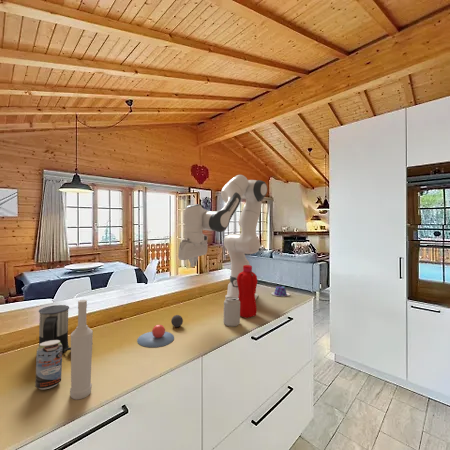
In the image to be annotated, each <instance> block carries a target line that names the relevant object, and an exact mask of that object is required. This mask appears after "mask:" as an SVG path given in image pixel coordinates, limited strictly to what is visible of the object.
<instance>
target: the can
mask: <svg viewBox="0 0 450 450" xmlns="http://www.w3.org/2000/svg"><path fill="white" fill-rule="evenodd" d="M240 319H241V316H240V301H239V298H238V297H232V296H231V297H225V299H224V301H223V323H224V325H225V326H227V327H232V328H233V327H238V325H240V323H241V321H240Z"/></svg>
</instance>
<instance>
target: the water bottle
mask: <svg viewBox="0 0 450 450" xmlns="http://www.w3.org/2000/svg"><path fill="white" fill-rule="evenodd" d="M237 285H238V290H239V297H238V298H239V301H240V317H241V318H244V319H246V318H248V319H249V318H251V317H255V316H256V315H257V312H258V311H257V310H258V309H257V302H256V300H255V293H256V294H257V285H258V276H257V275H256V273H254V272H253V266H252V265H251V264H250V265H244V266H243V271H242V272H241V273H239V274H238V277H237Z"/></svg>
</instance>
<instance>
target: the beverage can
mask: <svg viewBox="0 0 450 450" xmlns="http://www.w3.org/2000/svg"><path fill="white" fill-rule="evenodd" d="M35 357H36V359H35V361H36V362H35V364H36V365H35V384H34V387H35V388H37V389H39V390H48V389H52V388H54V387H56V386H57V385H59V384H60V382H61V381H62V374H63V373H62V368H63V367H62V366H63V353H62V344H61V343H60V340H50V341H46V342H42V343H40V346H39V345H38V347H37V349H36V356H35Z"/></svg>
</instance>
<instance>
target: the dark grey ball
mask: <svg viewBox="0 0 450 450" xmlns="http://www.w3.org/2000/svg"><path fill="white" fill-rule="evenodd" d="M170 323H171V325H172V327H174V328H179V327H181V326H182V325H183V323H184V319H183V317H182V316H181V315H180V314H176V315H174V316H173V317H172V318H171V322H170Z"/></svg>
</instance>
